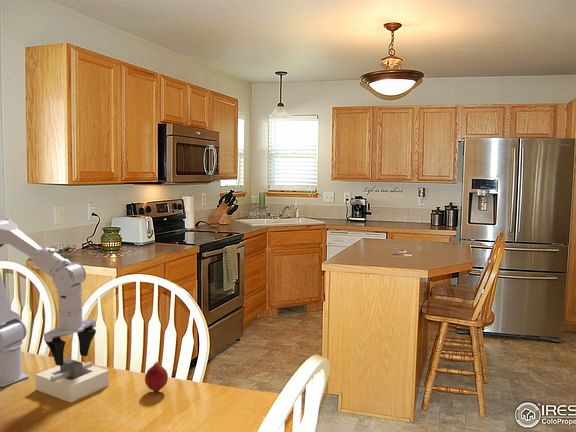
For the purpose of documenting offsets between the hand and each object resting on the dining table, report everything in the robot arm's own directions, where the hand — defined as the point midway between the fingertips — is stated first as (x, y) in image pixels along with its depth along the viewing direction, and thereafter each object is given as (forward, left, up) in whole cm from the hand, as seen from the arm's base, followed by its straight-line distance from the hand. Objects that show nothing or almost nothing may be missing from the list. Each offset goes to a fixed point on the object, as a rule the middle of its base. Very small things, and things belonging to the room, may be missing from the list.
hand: (71, 360), depth 140 cm
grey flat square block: (0, 0, -6) cm, 6 cm away
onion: (+21, +10, -8) cm, 24 cm away
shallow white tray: (0, 0, -8) cm, 8 cm away
